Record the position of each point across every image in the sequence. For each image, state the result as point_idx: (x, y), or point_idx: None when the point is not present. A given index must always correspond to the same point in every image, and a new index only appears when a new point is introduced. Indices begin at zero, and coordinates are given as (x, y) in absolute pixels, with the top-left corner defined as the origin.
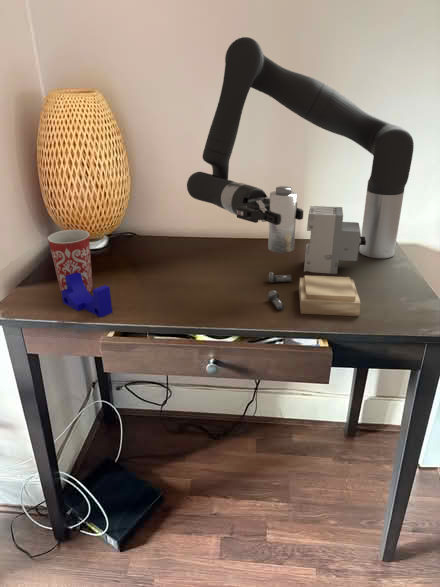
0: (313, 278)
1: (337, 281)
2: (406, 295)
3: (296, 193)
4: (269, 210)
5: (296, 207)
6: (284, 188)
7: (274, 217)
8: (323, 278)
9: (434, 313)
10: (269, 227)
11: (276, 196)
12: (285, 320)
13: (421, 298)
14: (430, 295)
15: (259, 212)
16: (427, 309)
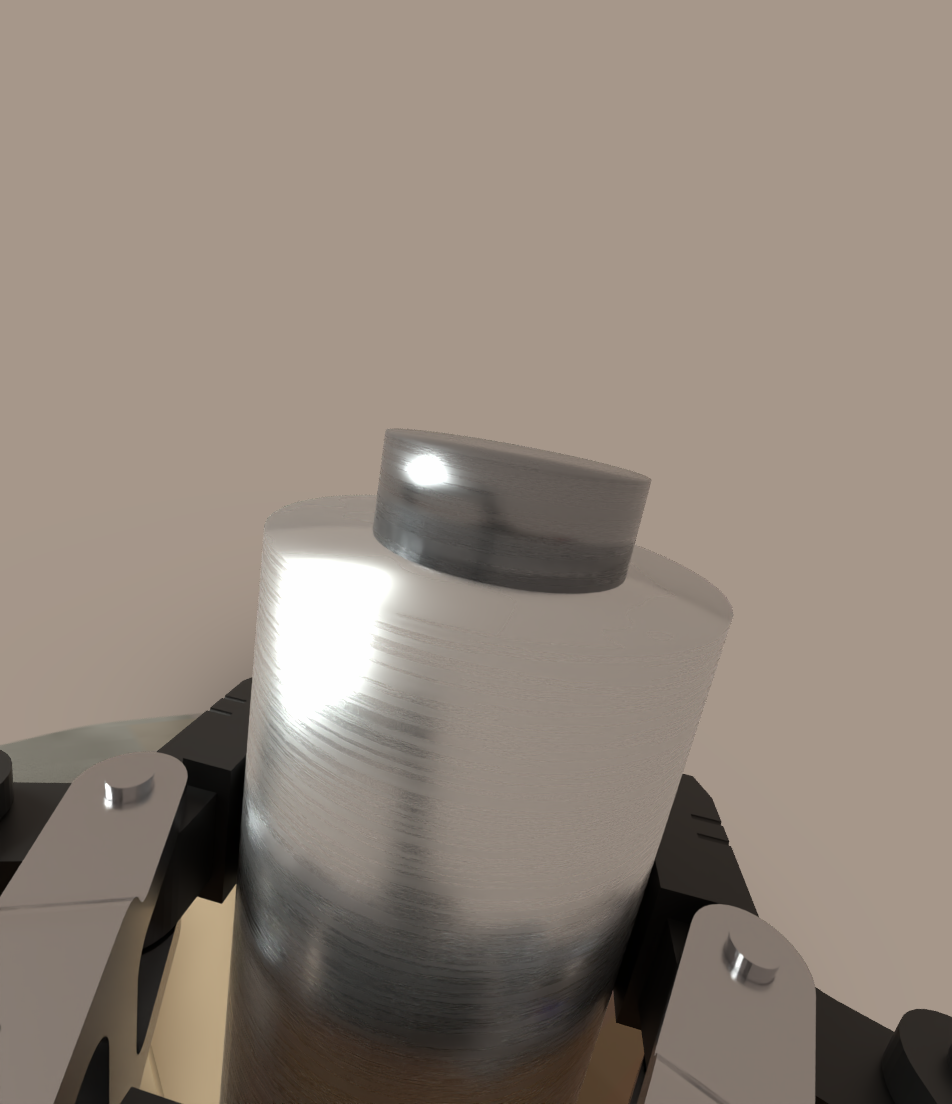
0: (219, 1058)
1: (207, 913)
2: (66, 782)
3: (361, 496)
4: (623, 926)
5: (250, 700)
6: (530, 452)
7: (683, 782)
8: (192, 999)
9: (201, 713)
10: (577, 1097)
11: (688, 570)
12: (592, 1059)
13: (84, 748)
14: (45, 735)
15: (846, 1070)
16: (178, 726)
